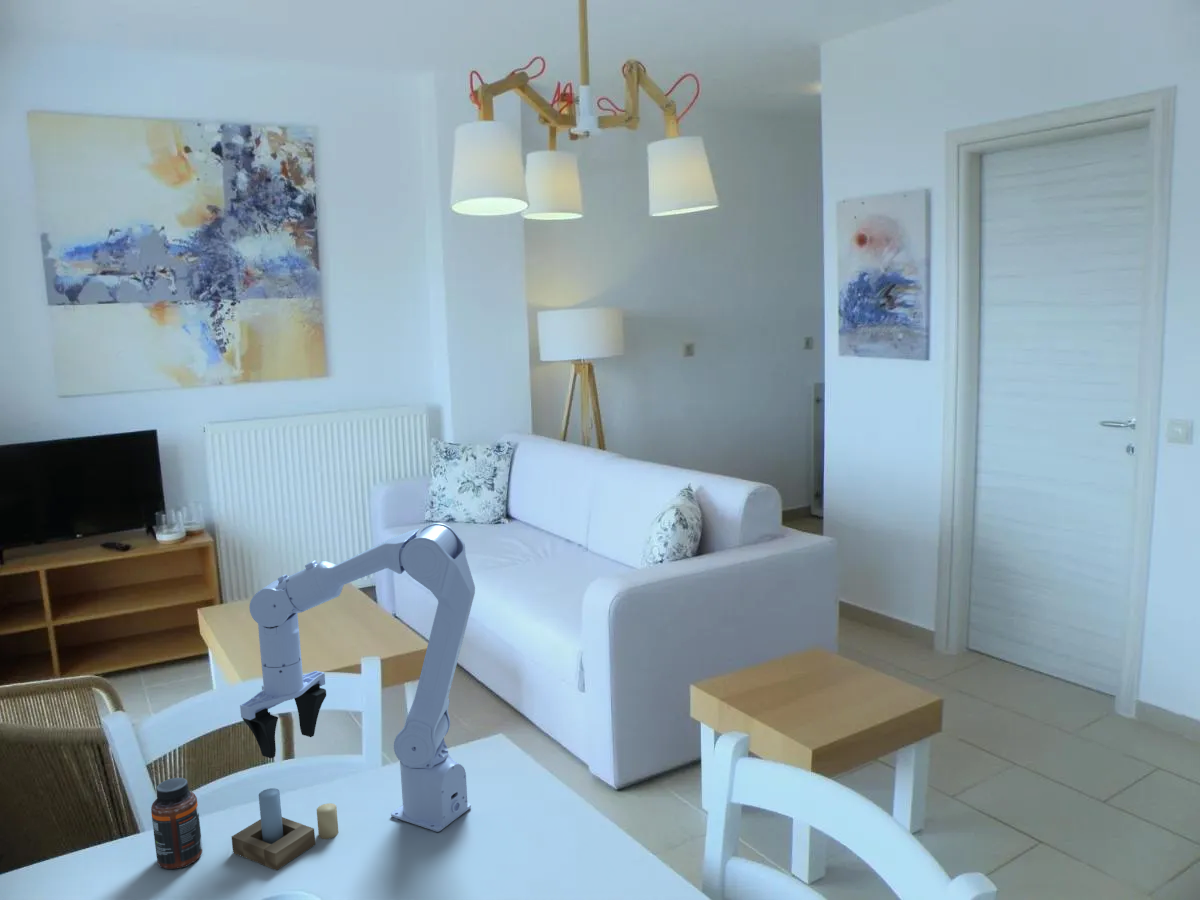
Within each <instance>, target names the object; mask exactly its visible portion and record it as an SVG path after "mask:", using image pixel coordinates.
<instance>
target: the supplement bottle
mask: <svg viewBox="0 0 1200 900" xmlns="http://www.w3.org/2000/svg"><path fill="white" fill-rule="evenodd" d="M155 790H156V797H157V798H156V799H155V800H154V801H153V803H152V804H151V807H150V808H151V812H150V813H151V820H152V830H153V836H154V837H153V838H154V845H155V846H154V847H155V853H156V854H155V855H156V859H157V860H156V861H157V862H156V863H157V864H158V866H159V867H161V868H162V869H165V870H166V869H167V870H169V869H170V870H174V869H180V868H181V869H182V868H184V867H187V866H190V865H191V864H193V863H194V862H196V861H197V860H198V859H199V858H200V857H201V856H202V855H203V840H202V831H201V829H202V828H201V824H200V823H201V822H200V821H201V820H200V813H199V807H198V797H197V795H196V794H195V793H194V792H192V791H191V790H189V783H188V780H187V779H186V778H184V777H172V778H170V779H166V780H164V781H162V782H160V783H159V784H158V785H157V786H156V789H155Z"/></svg>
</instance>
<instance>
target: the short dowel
mask: <svg viewBox="0 0 1200 900" xmlns="http://www.w3.org/2000/svg"><path fill="white" fill-rule="evenodd" d="M337 807H338V806H337V805H336V804H335V803H330V802H329V803H324V804H321V805H319V806H318V807H317V808H316V817H317V818H316V819H317V821H316V822H317V831H318V837H319V839H322V840H329V838H330V839H333V838H335V837H337V836H338V835H339V823H338V822H339V821H338V809H337Z"/></svg>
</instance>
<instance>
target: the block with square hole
mask: <svg viewBox="0 0 1200 900" xmlns="http://www.w3.org/2000/svg"><path fill="white" fill-rule="evenodd" d="M282 826H283V837H282V838H281V839H279V840H278V841H276V842H274V843H273V844H269V843H266V842H264V841H263V838H262V827H261V818H260V819H259V820H257V821H255V822H254V823H252V824H250V825H248V826H247V827H245V828H243V829H241V830H240V831H238V832H237V833H235V834H233V835H232V836H231V846H232V853H233V852H234V853H233V854H235V853H236V854H235V855H237V854H238V856H240V855H241V857H242V856H243V858H244V859H245V858H246V859H247V860H250V861H252V862H255V863H257V864H260V865H262V866H264V867H268V868H269V869H272V870H274V869H275V871H278V870H280V869H281V868H283V867H284V866H286V865H287V864H288V863H290V862H292V861H293V860H294V858H295V859H296V858H297V857H299V856H301V855H302V854H304V853H306V852H307V851H308V850H310V849H311V848H313V847H314V846H315V845H316V836H315V835H316V834H315V828H313V827H311V826H308V825H305V824H302V823H300V822H297V821H294V820H291V819H288V818H286V817H283V816H282ZM306 850H307V851H306ZM303 852H304V853H303ZM291 860H292V861H291Z"/></svg>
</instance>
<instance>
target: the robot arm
mask: <svg viewBox="0 0 1200 900" xmlns="http://www.w3.org/2000/svg"><path fill="white" fill-rule="evenodd" d="M420 529H421V528H416V529H412V530H409V531H407V532H404V533H402V534H398V535H397V536H394V537H391V538H389V539H387V540H385V541H383V542H381V543H378V544H377V545H375V546H373V547H371V548H368V549H366V550H364V551H363V552H362V551H361V552H360V553H359V554H358V553H357V554H356V555H353V556H352V557H350V558H348V559H345V560H343V561H341V562H339V563H337V564H336V563H333V562H330V561H327V560H321V561H319V562H317V560H312V561H309V562H307V564H305V565H304V569H301V570H300V571H297V572H295V573H293V574H291V575H288V574H283V575H281V576H279V577H278V578H277V579H275V580H274V581H272V582H270V583H269V584H268V585H266V586H264V587H263V588H261V589H260V590H259V591H257V592H256V593H255V594H254V595H253V596H252V598H250V602H249V613H250V616H251V619H253V621H254V622H255V623H257V627H258V638H259V639H258V641H259V649H260V650H259V651H260V661H261V673H262V683H263V684H262V685H261V690H260V691H259V692H257V694H255V695H254V696H253V697H251V698H250V699H248V701H246V702H244V703H242V704H240V705H239V709H240V710H239V711H240V718H241V719H242V720H243V721H244V723H245V724H246V725H247V726H248V727H249V729H250V731H251V732H252V734H253V736H254V738H255V740H256V742H257V745H258V747H259V749H260V752H261V755H262V757H265V758H268V759H273V758H275V757H276V753H277V751H276V732H277V731H276V730H277V723H278V720H279V717H278V716H275V715H272V714H271V712H270V711H269V710H270V709H271V708H274V707H276V706H277V705H279V704H282V703H284V702H287V701H290V700H293V699H294V701H295V705H296V709H297V713H298V722H299V729H300V732H301V735H302V736H306V737H309V738H313V737H314V736H315V731H316V726H317V721H318V717H319V713H320V709H321V708H322V705H323V703H324V701H325V699H326V698H327V690H326V689H325V688H323V686H325V685H326V675H325V672H323V671H318V670H315V671H312V672H309V673H306V674H305V673H304V674H303V662H302V660H303V659H302V651H301V639H300V638H301V635H300V627H299V626H300V625H299V615H298V614H299V613H303V612H305V611H308V610H310V609H313V608H315V607H318V606H320V605H322V604H325V603H326V602H329V601H331V600H334V599H336V598H339V596H341V594H342V591H343V587H344V585H347V584H349V583H352V582H354V581H357V580H360V579H362V578H365V577H367V576H370V575H373V574H374V573H378V572H380V571H383V570H385V569H388V570H391V571H392V572H394V573H397V574H398V575H402V574H403V573H404V572H406V574H408V576H410V577H411V578H412V579H413V580H415V581H416V582H418V583H419V584H420V585H422V586H424V587H425V589H428V590H429V591H430V592H431V594H432V595H433V596H434V598H435V599H436V600H437V607H436V612H435V615H434V618H433V623H432V627H431V631H430V634H429V640H428V644H427V647H426V652H425V654H424V660H423V663H422V667H421V672H420V676H419V679H418V684H417V687H416V690H415V691H416V692H415V696H414V699H413V701H412V704H411V707H410V709H409V711H408V714H407V716H406V719H405V724H404V726H403V728H402V729H401V730H400V731H399V732H398V734H396V736H395V738H394V741H393V751H394V755H395V756H396V758H397V759H398V760H399V769H400V770H399V771H400V784H401V795H402V796H401V798H402V799H401V800H402V805H400V806H399V807H397V808H396V809H394V810H393V811H391V813H390V816H391V818H395V819H397V820H400V821H403V822H407V823H410V824H413V825H415V826H419V827H422V828H425V829H427V830H430V831H434V832H436V833H437V832H441V831H443V830H444V828H446V827H447V826H448V825H450V824H451V823H453V822H454V821H455V820H457V819H458V818H460V816H462V815H463V814H464V813H466V812H467V811H468V810H470V809H471V808H472V804H471V803H470V802H468V791H467V790H468V789H467V787H468V786H467V772H466V770H465V767H464V766H463V765H462V764H461V763H459V762H457V761H455V760H454V759H453V758H452V757H451V756H450V754H449V748H448V745H447V744H446V742H445V737H446V735H447V734H448V732H449V730H450V727H451V718H450V714H449V706H450V699H449V696H450V692H451V687H452V685H453V680H454V677H455V672H456V668H457V665H458V661H459V656H460V653H461V649H462V644H463V640H464V637H465V632H466V629H467V625H468V621H469V616H470V615H471V610H472V605H473V602H474V599H475V594H476V586H475V583H474V580H473V576H472V573H471V569H470V566H469V562H468V559H467V556H466V555H467V554H466V545H465V542H464V541H463V540H462V538H460V537H459V535H458V534H457V532H456V531H455V530H454V529H453V528H452V527H451V526H449V525H447V524H445V523H442V522H436V523H431V524H429V525H427V526H425V527H424V528H423V529H422V530H421V531H420ZM419 531H420V533H419V534H418V532H419Z"/></svg>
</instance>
